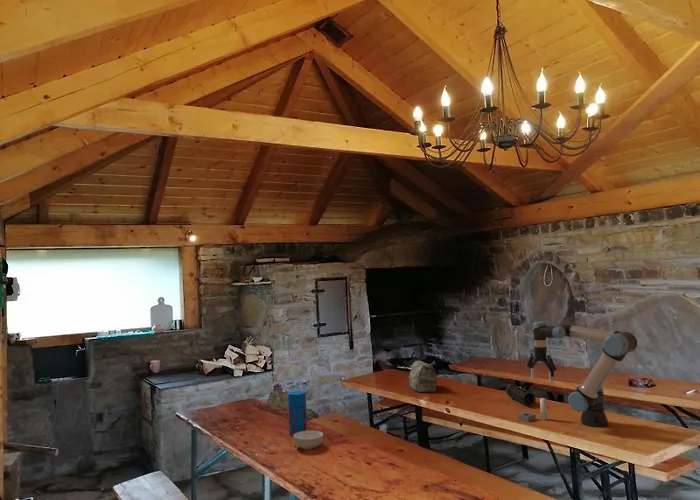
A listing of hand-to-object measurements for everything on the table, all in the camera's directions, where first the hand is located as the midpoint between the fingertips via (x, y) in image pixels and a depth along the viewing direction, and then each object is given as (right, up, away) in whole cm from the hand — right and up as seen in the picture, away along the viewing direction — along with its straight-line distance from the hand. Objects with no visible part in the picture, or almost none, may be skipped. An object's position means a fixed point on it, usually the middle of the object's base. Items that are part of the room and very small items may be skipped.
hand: (542, 380), depth 325 cm
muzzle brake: (0, -27, +41) cm, 49 cm away
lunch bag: (-62, -31, +92) cm, 115 cm away
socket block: (-9, -25, +1) cm, 27 cm away
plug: (+1, -25, -1) cm, 25 cm away
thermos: (-154, -31, -10) cm, 157 cm away
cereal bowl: (-145, -29, -34) cm, 152 cm away
